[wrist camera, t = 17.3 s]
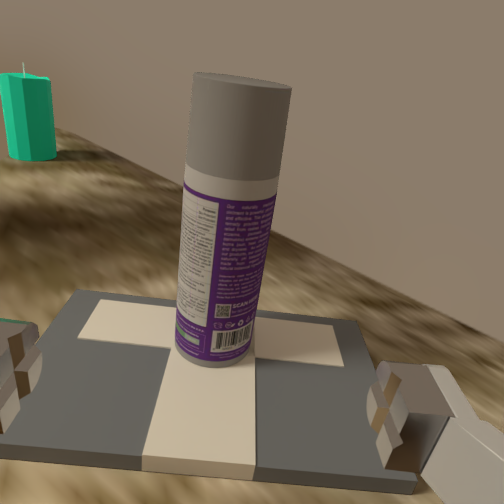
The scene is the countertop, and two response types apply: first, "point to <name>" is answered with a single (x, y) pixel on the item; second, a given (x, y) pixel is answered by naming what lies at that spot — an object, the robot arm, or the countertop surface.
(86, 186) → the countertop surface
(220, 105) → the container
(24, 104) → the candle
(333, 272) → the countertop surface
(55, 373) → the letter board
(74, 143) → the countertop surface
